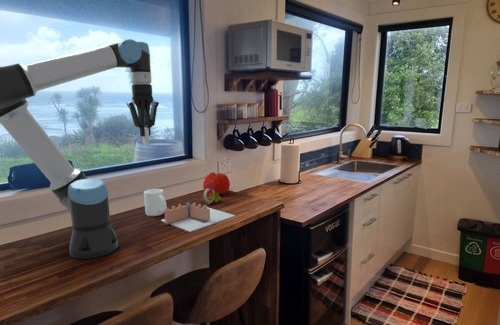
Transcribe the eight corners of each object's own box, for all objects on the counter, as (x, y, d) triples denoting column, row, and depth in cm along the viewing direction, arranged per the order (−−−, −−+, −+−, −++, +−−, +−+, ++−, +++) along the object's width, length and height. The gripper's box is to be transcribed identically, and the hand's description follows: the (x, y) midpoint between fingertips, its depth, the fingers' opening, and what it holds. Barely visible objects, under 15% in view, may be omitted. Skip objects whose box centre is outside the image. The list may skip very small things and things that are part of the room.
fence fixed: (167, 225, 140) (166, 208, 139) (165, 224, 141) (164, 208, 140) (191, 217, 149) (190, 202, 148) (189, 217, 150) (188, 201, 149)
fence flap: (189, 217, 147) (188, 203, 146) (192, 216, 149) (191, 202, 148) (207, 221, 142) (207, 206, 140) (210, 220, 143) (209, 205, 142)
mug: (173, 214, 154) (172, 191, 153) (158, 219, 148) (156, 195, 146) (156, 209, 162) (155, 188, 160) (141, 214, 155) (139, 191, 154)
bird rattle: (214, 209, 167) (223, 197, 174) (207, 190, 162) (217, 179, 168) (204, 207, 171) (213, 196, 177) (197, 189, 165) (207, 178, 172)
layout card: (187, 232, 131) (187, 231, 131) (158, 221, 145) (158, 220, 145) (235, 216, 149) (235, 215, 149) (205, 207, 163) (205, 206, 163)
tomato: (234, 194, 184) (233, 173, 182) (210, 199, 177) (209, 176, 175) (222, 189, 195) (222, 169, 193) (199, 193, 188) (198, 172, 186)
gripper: (130, 83, 128) (135, 146, 132) (161, 83, 138) (165, 143, 142) (121, 84, 133) (126, 145, 137) (151, 84, 143) (155, 142, 147)
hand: (146, 144), depth 140 cm, fingers closed
